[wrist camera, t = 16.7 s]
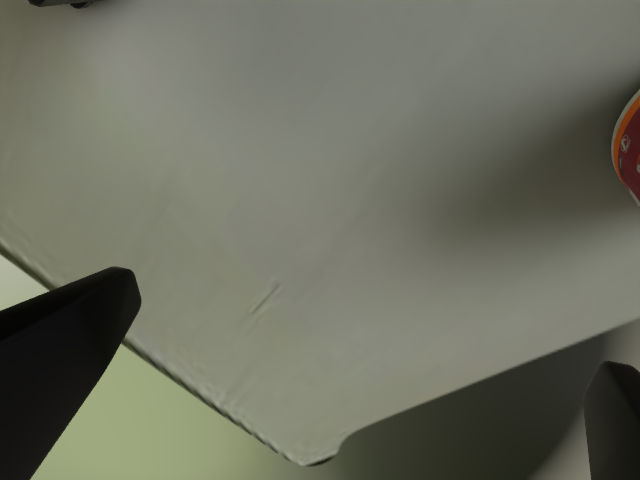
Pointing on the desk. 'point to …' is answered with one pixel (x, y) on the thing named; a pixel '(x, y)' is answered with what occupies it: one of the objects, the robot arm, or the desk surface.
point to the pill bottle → (628, 147)
